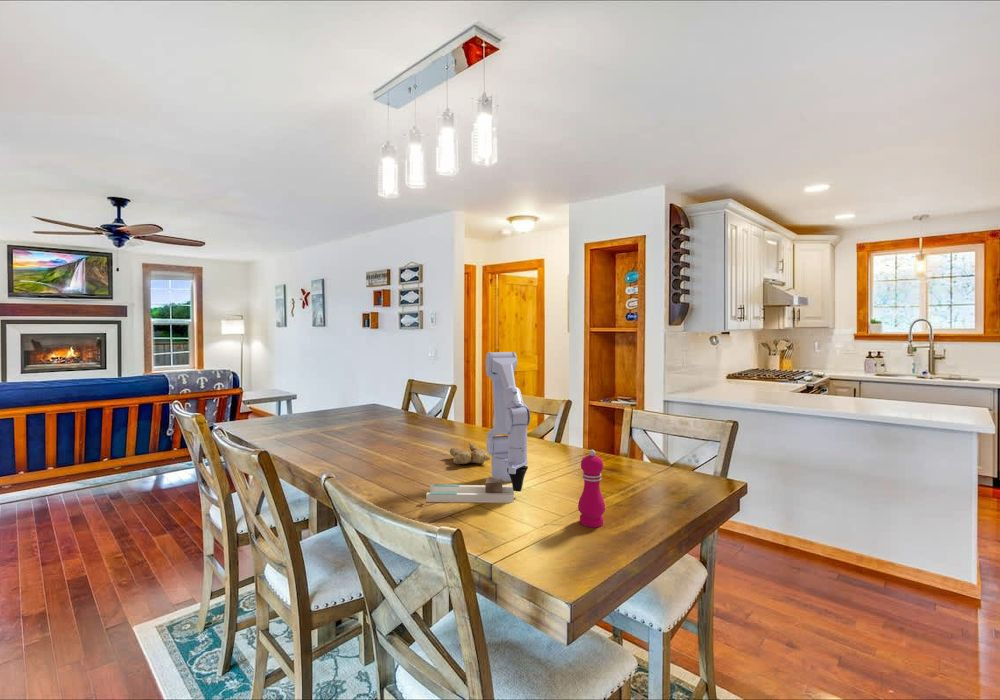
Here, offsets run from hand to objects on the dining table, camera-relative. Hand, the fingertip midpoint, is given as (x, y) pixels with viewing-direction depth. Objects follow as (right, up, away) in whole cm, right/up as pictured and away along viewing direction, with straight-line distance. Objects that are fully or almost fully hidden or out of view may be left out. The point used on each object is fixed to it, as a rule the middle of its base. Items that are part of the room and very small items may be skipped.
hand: (517, 490), depth 153 cm
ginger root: (-17, -1, +41) cm, 44 cm away
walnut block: (-7, -2, 0) cm, 7 cm away
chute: (-14, -3, +1) cm, 14 cm away
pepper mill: (+19, -4, -17) cm, 26 cm away
